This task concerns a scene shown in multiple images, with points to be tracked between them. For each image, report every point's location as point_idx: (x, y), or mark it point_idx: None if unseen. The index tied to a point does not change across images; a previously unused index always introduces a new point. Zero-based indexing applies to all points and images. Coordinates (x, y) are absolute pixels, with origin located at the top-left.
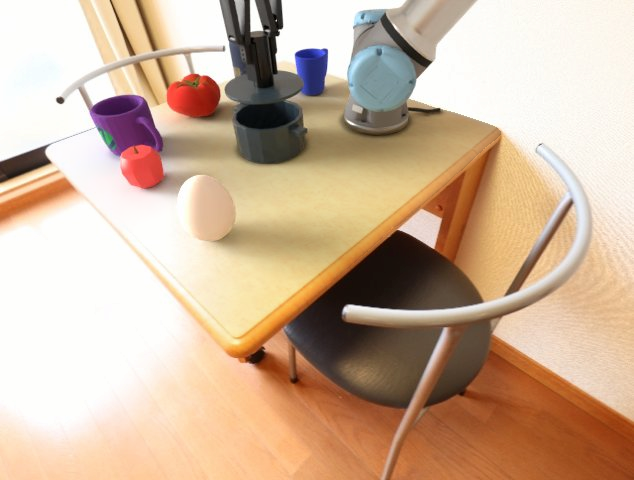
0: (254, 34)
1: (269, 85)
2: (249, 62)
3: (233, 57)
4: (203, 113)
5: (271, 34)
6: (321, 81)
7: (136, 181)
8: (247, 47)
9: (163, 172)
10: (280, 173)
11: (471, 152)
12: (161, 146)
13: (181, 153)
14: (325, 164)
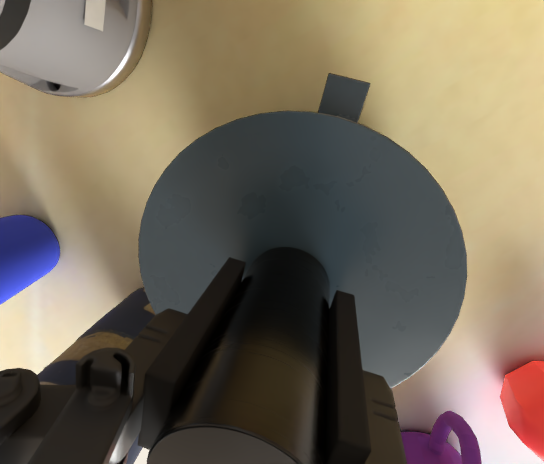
0: None
1: (305, 254)
2: (372, 380)
3: (134, 461)
4: None
5: (132, 401)
6: (3, 222)
7: None
8: (381, 461)
9: (539, 368)
10: (427, 121)
11: None
12: (462, 418)
13: None
14: (345, 18)
